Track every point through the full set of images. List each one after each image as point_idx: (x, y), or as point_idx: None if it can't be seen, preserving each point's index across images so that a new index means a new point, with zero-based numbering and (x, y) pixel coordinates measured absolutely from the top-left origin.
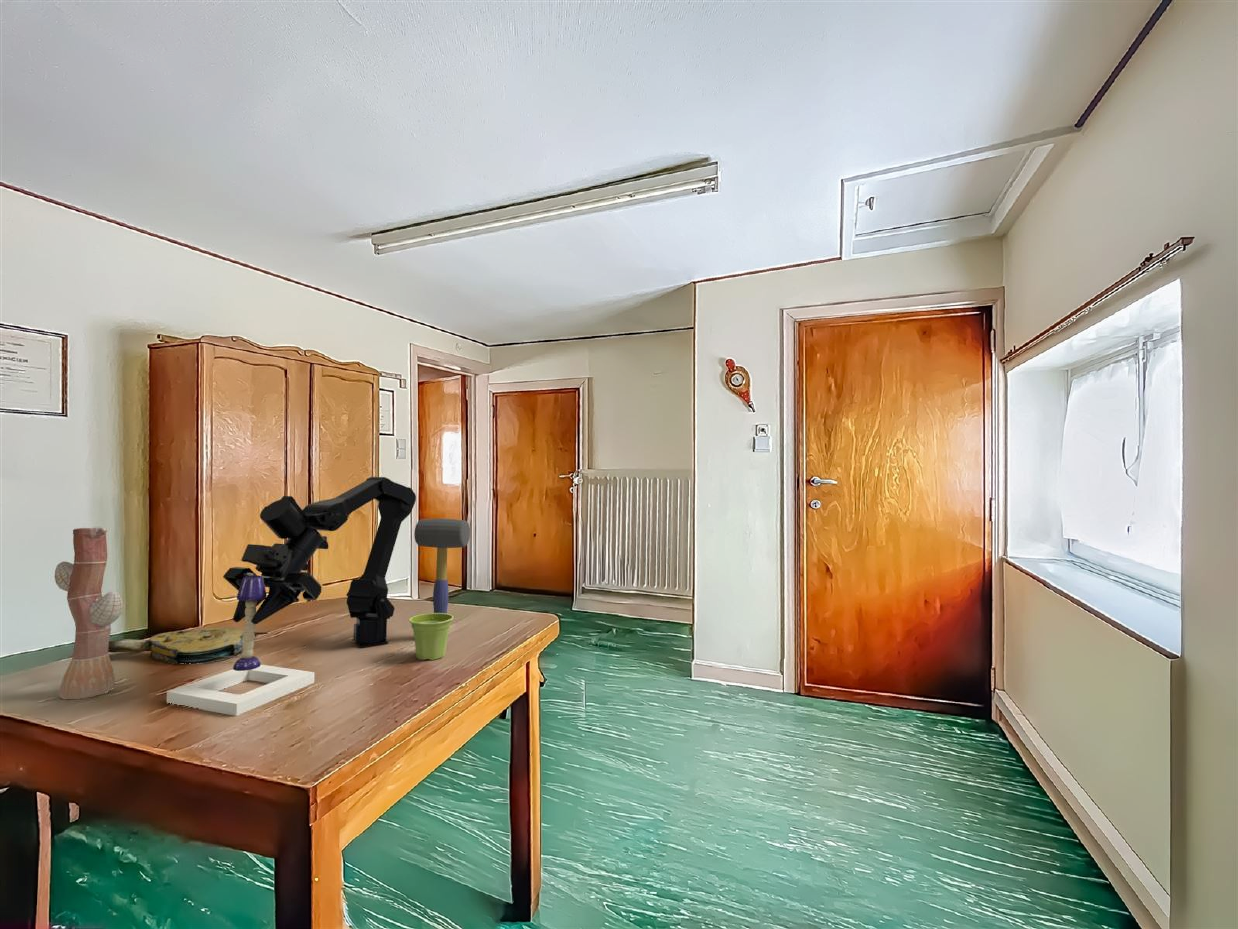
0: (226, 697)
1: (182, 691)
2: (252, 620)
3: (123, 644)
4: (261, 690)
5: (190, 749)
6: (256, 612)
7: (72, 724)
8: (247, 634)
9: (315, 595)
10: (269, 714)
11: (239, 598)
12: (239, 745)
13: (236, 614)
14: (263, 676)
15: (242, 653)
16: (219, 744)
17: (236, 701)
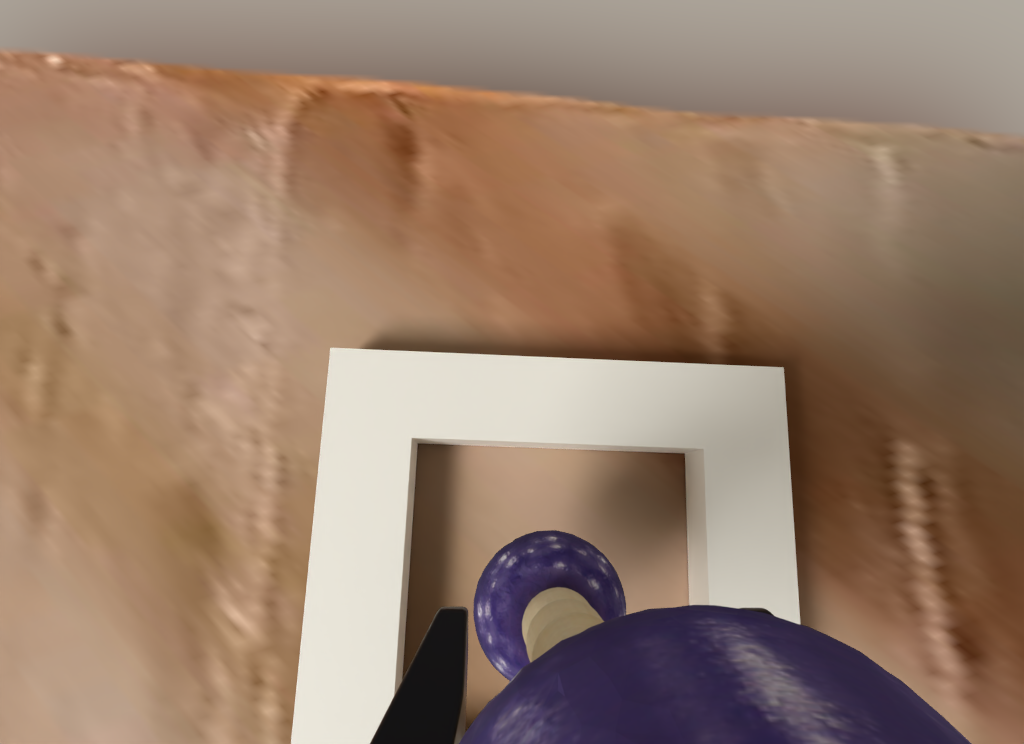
0: (446, 392)
1: (718, 390)
2: (449, 613)
3: None
4: (353, 517)
5: (264, 109)
6: (444, 705)
7: (862, 144)
8: (562, 633)
9: None
10: (216, 417)
11: (735, 611)
12: (114, 171)
13: None
14: None
15: (571, 591)
16: (195, 159)
17: (355, 367)
